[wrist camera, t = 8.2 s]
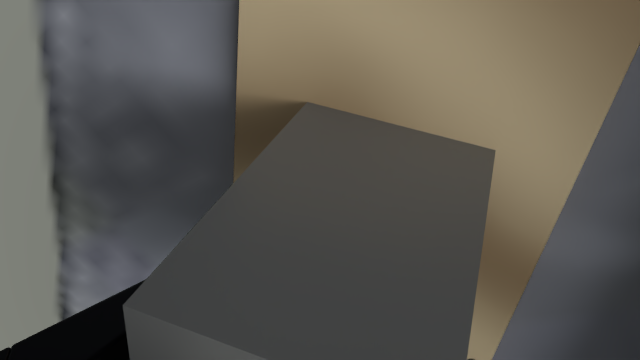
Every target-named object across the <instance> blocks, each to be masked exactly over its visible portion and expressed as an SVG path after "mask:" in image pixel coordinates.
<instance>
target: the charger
mask: <svg viewBox="0 0 640 360" xmlns="http://www.w3.org/2000/svg"><path fill="white" fill-rule="evenodd" d="M495 152H496V150H493V149H489V148H485V147H481V146H478V145H474V144H470V143H466V142H462V141H458V140H454V139H450V138H446V137H442V136H439V135H435V134H431V133H427V132H423V131H419V130H415V129H411V128H407V127H404V126H400V125H396V124H392V123H388V122H384V121H380V120H376V119H372V118H368V117H365V116H361V115H357V114H353V113H349V112H345V111H341V110H337V109H333V108H329V107H326V106H322V105H318V104H314V103H310V102H307V103H306V104H305V105H304V106H303V107H302V108H301V109H300V110H299V112H298V113H297V114H296V115H295V116H294V117H293V118H292V119H291V120H290V122H289V123H288V124H287V125H286V126H285V127H284V128H283V129H282V130H281V131H280V133H279V134H278V135H277V136H276V137H275V138H274V139H273V140H272V141H271V142H270V144H269V145H268V146H267V147H266V148H265V149H264V150H263V151H262V152H261V153H260V155H259V156H258V157H257V158H256V159H255V160H254V161H253V162H252V163H251V164H250V166H249V167H248V168H247V169H246V170H245V171H244V172H243V173H242V174H241V176H240V177H239V178H238V179H237V180H236V181H235V182H234V183H233V184H232V185H231V187H230V188H229V189H228V190H227V191H226V192H225V193H224V194H223V195H222V196H221V198H220V199H219V200H218V201H217V202H216V203H215V204H214V205H213V206H212V207H211V209H210V210H209V211H208V212H207V213H206V214H205V215H204V216H203V217H202V218H201V220H200V221H199V222H198V223H197V224H196V225H195V226H194V227H193V228H192V230H191V231H190V232H189V233H188V234H187V235H186V236H185V237H184V238H183V239H182V241H181V242H180V243H179V244H178V245H177V246H176V247H175V248H174V249H173V250H172V252H171V253H170V254H169V255H168V256H167V257H166V258H165V259H164V260H163V261H162V263H161V264H160V265H159V266H158V267H157V268H156V269H155V270H154V271H153V272H152V274H151V275H150V276H149V277H148V278H147V279H146V280H145V281H144V282H143V284H142V285H141V286H140V287H139V288H138V289H137V290H136V291H135V292H134V293H133V295H132V296H131V297H130V298H129V299H128V300H127V301H126V302H125V303H124V304H123V312H124V319H125V327H126V334H127V342H128V349H129V357H130V360H467V355H468V347H469V340H470V333H471V326H472V318H473V311H474V304H475V297H476V289H477V282H478V275H479V268H480V260H481V253H482V246H483V239H484V231H485V224H486V217H487V210H488V202H489V195H490V188H491V181H492V173H493V166H494V159H495Z"/></svg>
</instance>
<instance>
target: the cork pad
mask: <svg viewBox="0 0 640 360" xmlns="http://www.w3.org/2000/svg"><path fill="white" fill-rule="evenodd" d="M639 44H640V0H239V27H238V57H237V88H236V118H235V149H234V179H233V183H234V182H235V181H236V180H237V179H238V178H239V177H240V176H241V174H242V173H243V172H244V171H245V170H246V169H247V168H248V167H249V166H250V164H251V163H252V162H253V161H254V160H255V159H256V158H257V157H258V156H259V155H260V153H261V152H262V151H263V150H264V149H265V148H266V147H267V146H268V145H269V144H270V142H271V141H272V140H273V139H274V138H275V137H276V136H277V135H278V134H279V133H280V131H281V130H282V129H283V128H284V127H285V126H286V125H287V124H288V123H289V122H290V120H291V119H292V118H293V117H294V116H295V115H296V114H297V113H298V112H299V110H300V109H301V108H302V107H303V106H304V105H305V104H306V103H307V102H310V103H314V104H318V105H322V106H326V107H329V108H333V109H337V110H341V111H345V112H349V113H353V114H357V115H361V116H365V117H368V118H372V119H376V120H380V121H384V122H388V123H392V124H396V125H400V126H404V127H407V128H411V129H415V130H419V131H423V132H427V133H431V134H435V135H439V136H442V137H446V138H450V139H454V140H458V141H462V142H466V143H470V144H474V145H478V146H481V147H485V148H489V149H493V150H496V152H495V159H494V166H493V173H492V181H491V188H490V195H489V202H488V210H487V217H486V224H485V231H484V239H483V246H482V253H481V260H480V268H479V275H478V282H477V289H476V297H475V304H474V311H473V318H472V326H471V333H470V340H469V347H468V355H467V360H468V359H475V360H492V358H493V356H494V354H495V351H496V349H497V347H498V345H499V343H500V341H501V339H502V337H503V334H504V332H505V330H506V328H507V326H508V324H509V322H510V320H511V317H512V315H513V313H514V311H515V309H516V307H517V305H518V302H519V300H520V298H521V296H522V294H523V292H524V290H525V288H526V285H527V283H528V281H529V279H530V277H531V275H532V273H533V270H534V268H535V266H536V264H537V262H538V260H539V258H540V256H541V253H542V251H543V249H544V247H545V245H546V243H547V241H548V238H549V236H550V234H551V232H552V230H553V228H554V226H555V224H556V221H557V219H558V217H559V215H560V213H561V211H562V209H563V207H564V204H565V202H566V200H567V198H568V196H569V194H570V192H571V189H572V187H573V185H574V183H575V181H576V179H577V177H578V175H579V172H580V170H581V168H582V166H583V164H584V162H585V160H586V157H587V155H588V153H589V151H590V149H591V147H592V145H593V143H594V140H595V138H596V136H597V134H598V132H599V130H600V128H601V125H602V123H603V121H604V119H605V117H606V115H607V113H608V111H609V108H610V106H611V104H612V102H613V100H614V98H615V96H616V94H617V91H618V89H619V87H620V85H621V83H622V81H623V79H624V76H625V74H626V72H627V70H628V68H629V66H630V64H631V62H632V59H633V57H634V55H635V53H636V51H637V49H638V47H639Z"/></svg>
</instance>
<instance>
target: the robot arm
mask: <svg viewBox="0 0 640 360" xmlns="http://www.w3.org/2000/svg"><path fill="white" fill-rule="evenodd" d="M144 281H145V280H144ZM144 281H142V282H140V283H138V284H136V285H134V286H132V287H130V288H128V289H125V290H123V291H121V292H119V293H117V294H115V295H113V296H111V297H109V298H107V299H105V300H103V301H101V302H99V303H97V304H95V305H93V306H91V307H89V308H87V309H85V310H83V311H81V312H79V313H77V314H75V315H73V316H71V317H69V318H67V319H65V320H63V321H61V322H59V323H57V324H55V325H53V326H51V327H48V328H47V329H44V330H42V331H40V332H38V333H37V334H34V335H32V336H30V337H28V338H26V339H24V340H22V341H20V342H18V343H16V344H14V345H13V346H12V347H11V348H6V349H4V350H2V351H0V360H130V357H129V349H128V342H127V334H126V327H125V319H124V312H123V304H124V303H125V302H126V301H127V300H128V299H129V298H130V297H131V296H132V295H133V293H134V292H135V291H136V290H137V289H138V288H139V287H140V286H141V285H142V284H143V282H144ZM468 360H475V359H468Z"/></svg>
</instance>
